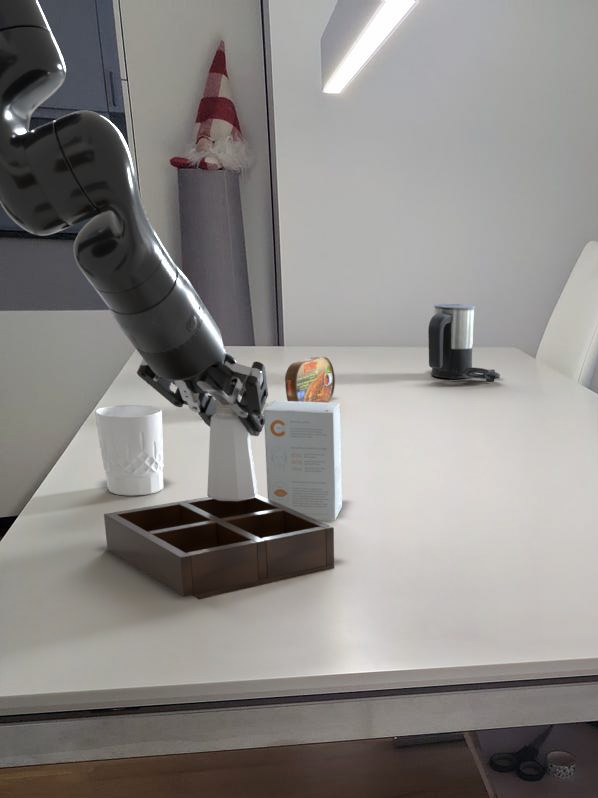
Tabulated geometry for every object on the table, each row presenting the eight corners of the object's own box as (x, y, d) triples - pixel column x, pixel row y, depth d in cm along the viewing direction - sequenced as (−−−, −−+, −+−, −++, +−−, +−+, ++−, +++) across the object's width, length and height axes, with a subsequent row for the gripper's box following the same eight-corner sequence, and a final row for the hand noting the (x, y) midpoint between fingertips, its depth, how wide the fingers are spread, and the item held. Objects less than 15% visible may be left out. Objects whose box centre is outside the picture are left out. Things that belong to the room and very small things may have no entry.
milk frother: (435, 371, 230) (436, 302, 225) (505, 376, 229) (508, 306, 223) (423, 381, 217) (424, 308, 212) (497, 386, 216) (500, 312, 210)
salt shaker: (196, 497, 109) (189, 392, 105) (225, 486, 114) (219, 385, 110) (241, 504, 108) (235, 397, 103) (268, 492, 112) (264, 390, 108)
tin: (298, 414, 181) (297, 364, 177) (282, 412, 181) (281, 363, 178) (336, 400, 194) (336, 354, 190) (321, 398, 195) (320, 352, 191)
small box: (342, 507, 128) (341, 402, 123) (335, 522, 123) (333, 412, 117) (277, 504, 128) (273, 399, 123) (267, 519, 122) (262, 409, 117)
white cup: (157, 498, 128) (150, 418, 125) (94, 496, 128) (85, 415, 125) (175, 482, 136) (169, 406, 132) (115, 480, 136) (107, 403, 132)
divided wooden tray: (184, 602, 97) (180, 557, 95) (107, 555, 108) (103, 513, 107) (334, 568, 108) (334, 527, 106) (250, 528, 119) (248, 490, 117)
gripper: (246, 290, 94) (310, 404, 109) (113, 280, 98) (192, 392, 113) (218, 357, 91) (288, 464, 107) (82, 344, 95) (168, 449, 111)
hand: (238, 426), depth 110 cm, fingers closed on salt shaker, 4 cm apart
